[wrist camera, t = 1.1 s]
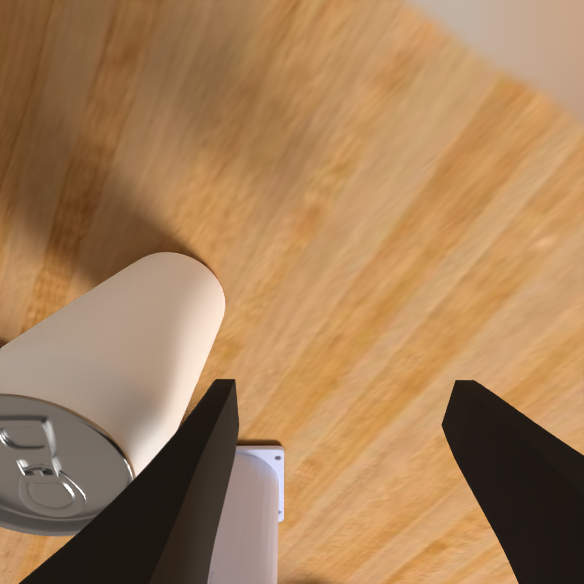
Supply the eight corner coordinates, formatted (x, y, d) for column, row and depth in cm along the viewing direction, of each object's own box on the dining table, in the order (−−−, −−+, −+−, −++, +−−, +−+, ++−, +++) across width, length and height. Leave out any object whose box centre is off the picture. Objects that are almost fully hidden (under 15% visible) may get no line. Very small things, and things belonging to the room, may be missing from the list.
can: (136, 341, 20) (-40, 547, 9) (114, 249, 18) (-161, 383, 7) (230, 340, 21) (166, 543, 10) (222, 249, 18) (123, 381, 7)
